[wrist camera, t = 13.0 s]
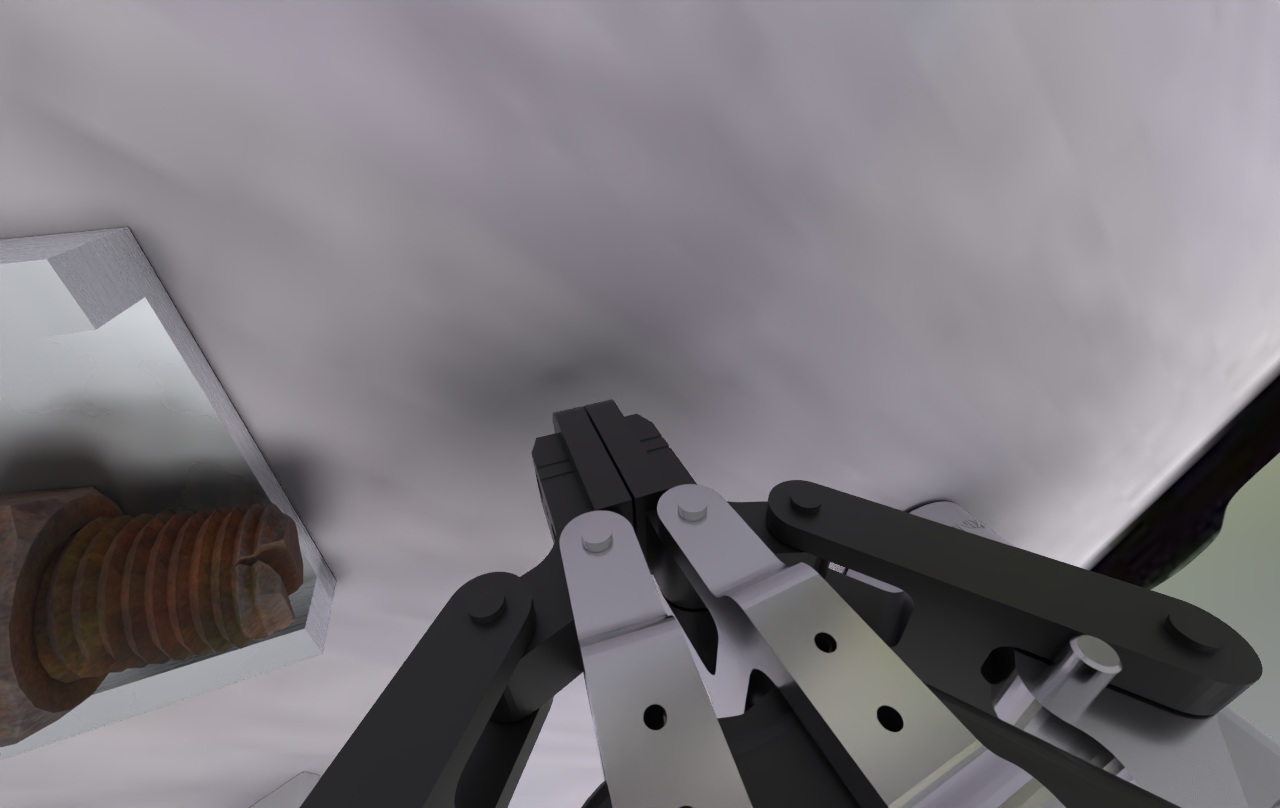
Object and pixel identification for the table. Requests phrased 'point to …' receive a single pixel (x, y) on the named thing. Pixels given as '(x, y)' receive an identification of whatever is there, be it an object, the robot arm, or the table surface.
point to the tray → (131, 439)
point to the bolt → (127, 593)
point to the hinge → (290, 792)
